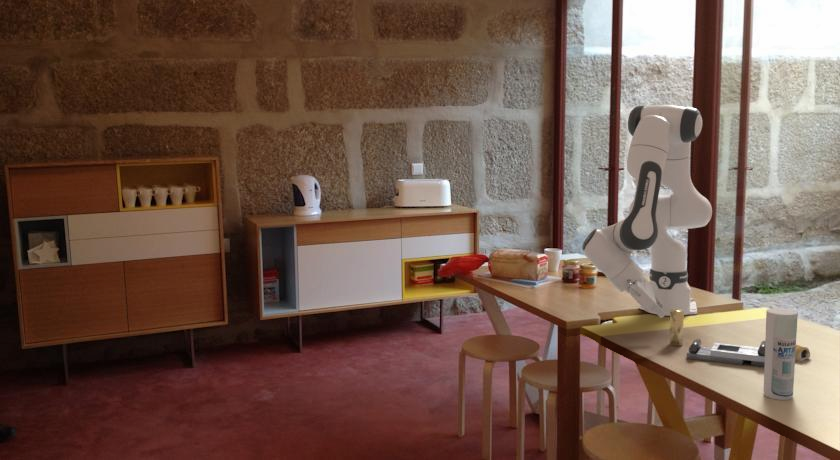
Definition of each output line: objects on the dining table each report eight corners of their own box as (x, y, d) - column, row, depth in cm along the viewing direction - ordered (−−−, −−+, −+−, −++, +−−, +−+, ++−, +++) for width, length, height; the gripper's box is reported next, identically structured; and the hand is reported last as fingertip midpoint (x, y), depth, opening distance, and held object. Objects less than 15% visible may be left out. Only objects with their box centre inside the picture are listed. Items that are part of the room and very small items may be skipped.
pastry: (765, 355, 213) (766, 341, 212) (780, 350, 216) (780, 337, 216) (798, 363, 205) (799, 349, 204) (812, 359, 209) (813, 345, 208)
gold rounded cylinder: (670, 342, 226) (671, 308, 224) (683, 343, 224) (684, 309, 223) (668, 345, 223) (669, 311, 221) (681, 346, 221) (682, 312, 220)
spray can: (782, 389, 185) (786, 307, 183) (799, 399, 179) (804, 313, 176) (757, 391, 184) (760, 308, 182) (773, 401, 178) (777, 315, 175)
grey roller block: (686, 358, 211) (687, 340, 210) (691, 350, 218) (692, 332, 217) (767, 368, 201) (768, 349, 200) (770, 359, 208) (771, 341, 207)
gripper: (637, 276, 213) (673, 313, 212) (635, 263, 233) (668, 296, 232) (619, 292, 215) (656, 328, 214) (619, 277, 234) (652, 310, 233)
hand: (662, 311), depth 223 cm, fingers open, 8 cm apart
